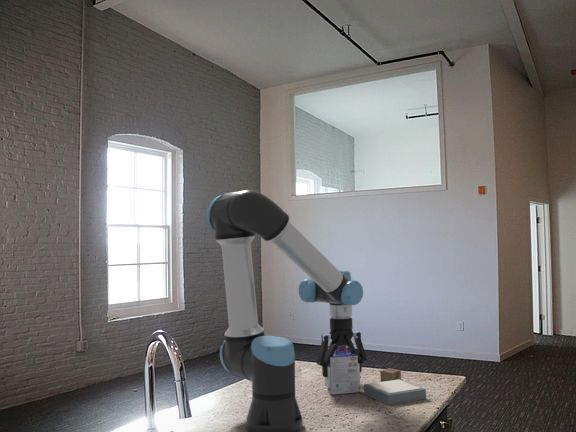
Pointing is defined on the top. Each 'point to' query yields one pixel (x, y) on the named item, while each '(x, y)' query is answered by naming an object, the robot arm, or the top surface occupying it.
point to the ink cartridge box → (343, 372)
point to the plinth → (394, 392)
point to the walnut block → (390, 374)
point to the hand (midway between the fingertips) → (342, 384)
